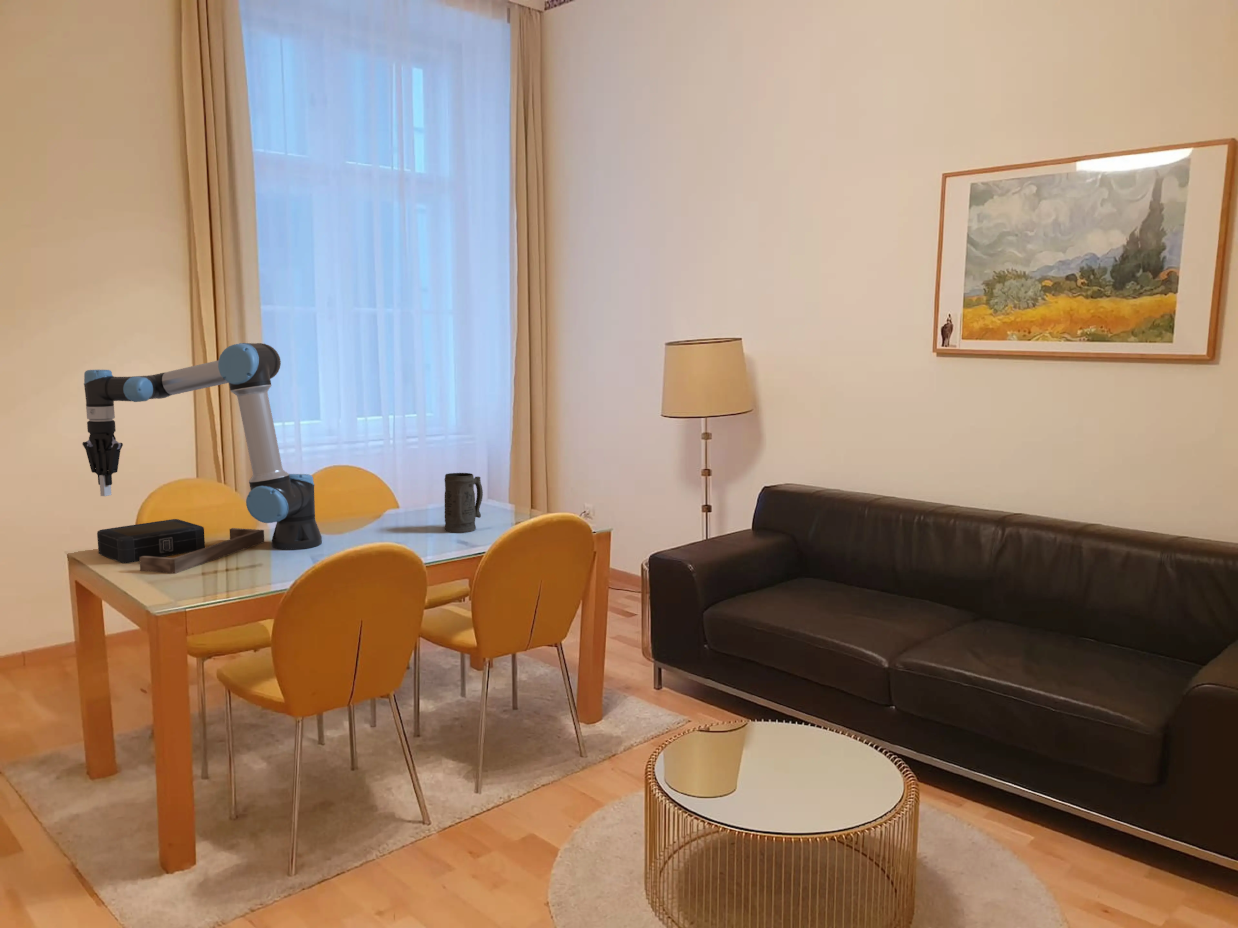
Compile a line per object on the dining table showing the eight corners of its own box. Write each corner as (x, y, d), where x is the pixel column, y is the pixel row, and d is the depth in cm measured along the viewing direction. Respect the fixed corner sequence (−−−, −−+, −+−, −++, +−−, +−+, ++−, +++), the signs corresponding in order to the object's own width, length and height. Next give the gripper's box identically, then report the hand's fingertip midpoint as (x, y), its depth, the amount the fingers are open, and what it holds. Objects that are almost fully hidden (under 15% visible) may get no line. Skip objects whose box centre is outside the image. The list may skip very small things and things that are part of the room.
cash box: (124, 565, 267) (122, 539, 266) (96, 554, 280) (94, 529, 279) (208, 550, 286) (207, 526, 285) (178, 541, 299) (177, 517, 298)
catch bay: (264, 541, 297) (263, 529, 297) (175, 573, 258) (174, 559, 257) (233, 539, 300) (232, 527, 299) (140, 570, 260) (139, 557, 260)
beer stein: (460, 534, 310) (461, 475, 308) (436, 530, 315) (438, 473, 314) (489, 529, 323) (491, 473, 321) (466, 526, 328) (467, 470, 327)
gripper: (73, 420, 279) (78, 496, 282) (109, 421, 276) (114, 498, 279) (92, 418, 286) (97, 492, 290) (128, 419, 283) (132, 494, 287)
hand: (106, 495), depth 285 cm, fingers closed
